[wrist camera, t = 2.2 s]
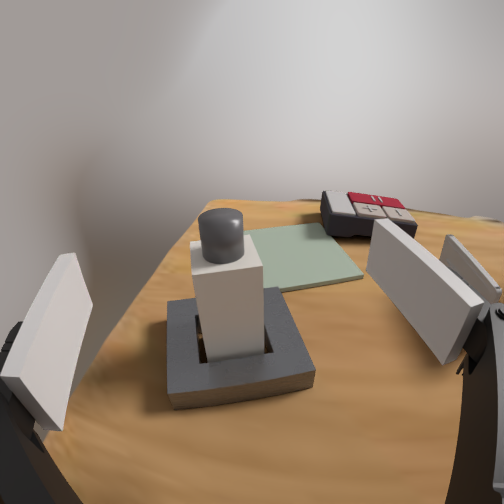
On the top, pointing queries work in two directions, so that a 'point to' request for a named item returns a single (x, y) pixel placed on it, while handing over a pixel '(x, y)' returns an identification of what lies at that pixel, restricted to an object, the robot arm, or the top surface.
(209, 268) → the plug
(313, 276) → the mat
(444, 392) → the top surface
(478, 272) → the cassette
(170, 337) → the socket
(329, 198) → the calculator
